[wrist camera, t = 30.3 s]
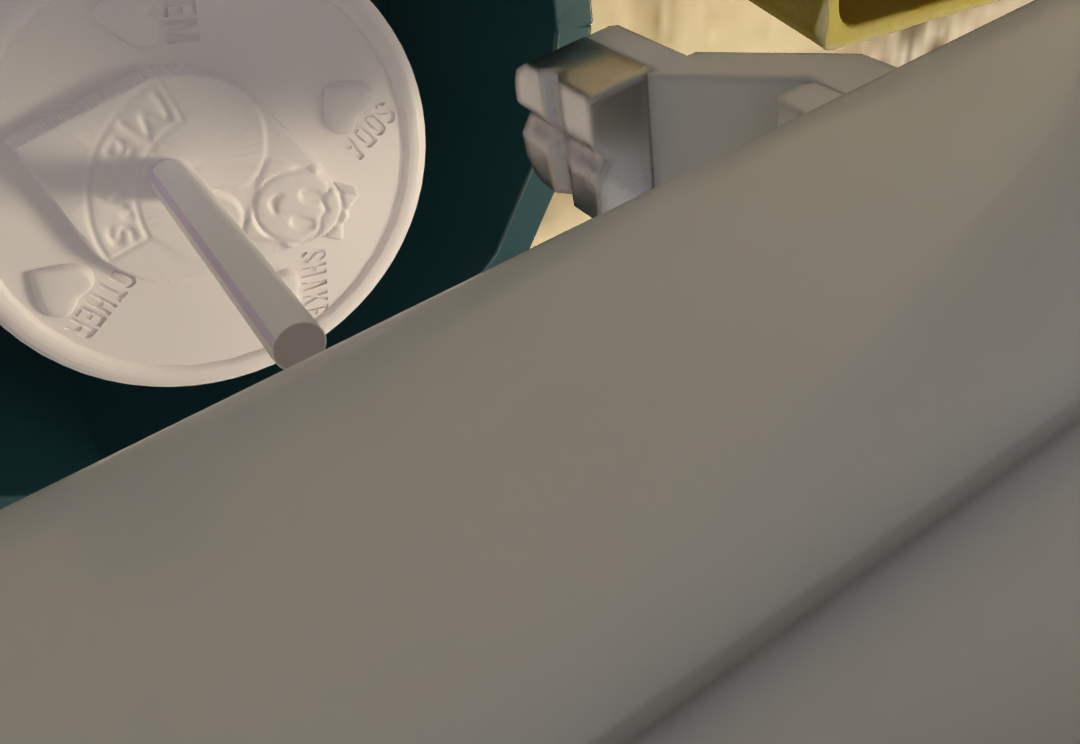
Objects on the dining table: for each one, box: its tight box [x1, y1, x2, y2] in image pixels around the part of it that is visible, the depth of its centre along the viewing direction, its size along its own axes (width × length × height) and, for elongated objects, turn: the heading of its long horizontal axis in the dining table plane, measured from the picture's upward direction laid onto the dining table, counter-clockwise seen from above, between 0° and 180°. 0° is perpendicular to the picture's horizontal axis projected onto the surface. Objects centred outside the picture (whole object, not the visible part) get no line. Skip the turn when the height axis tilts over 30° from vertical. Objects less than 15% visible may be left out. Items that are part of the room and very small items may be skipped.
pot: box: [0, 0, 593, 509], centre depth 17 cm, size 16×21×8 cm
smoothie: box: [0, 0, 426, 387], centre depth 15 cm, size 6×6×14 cm
